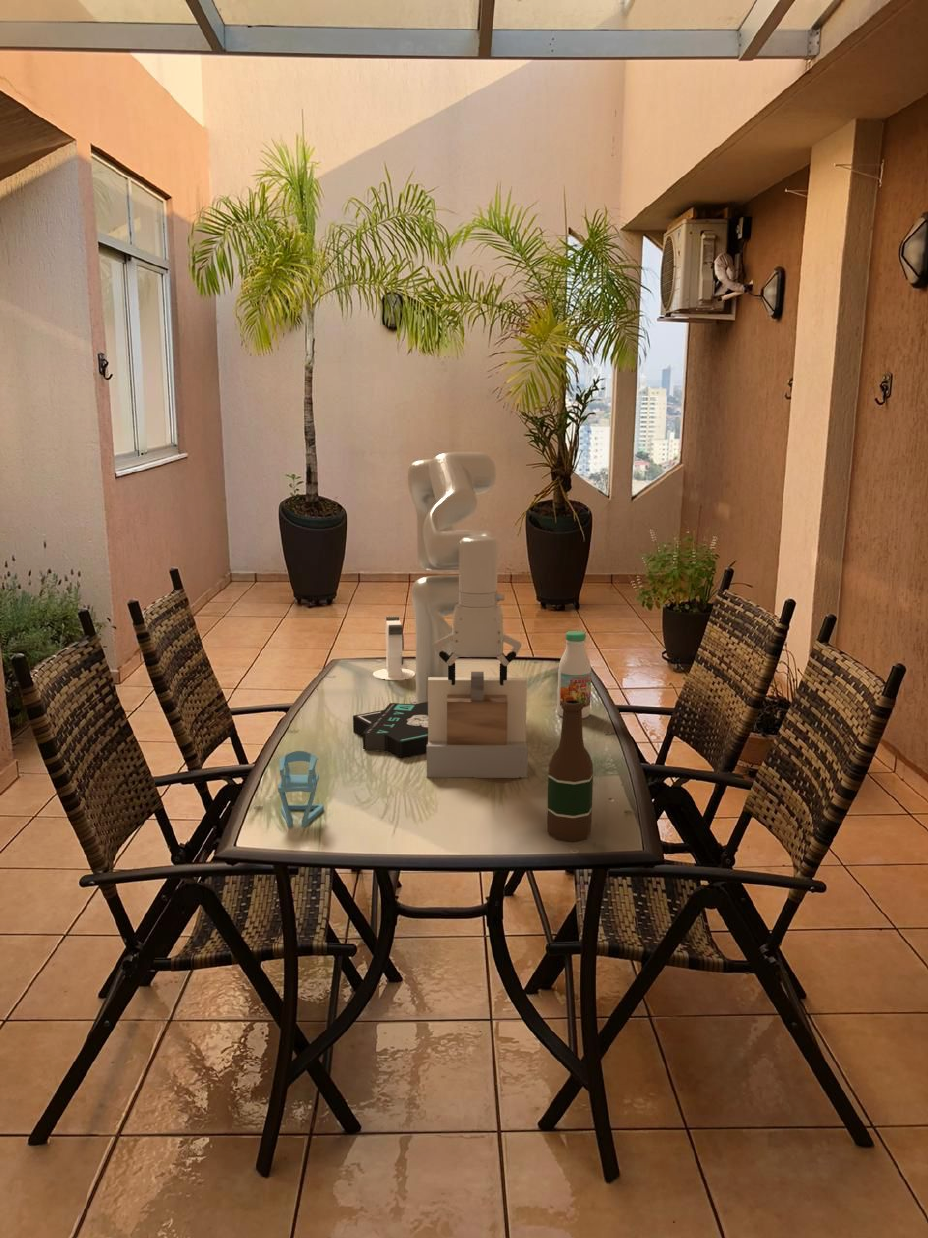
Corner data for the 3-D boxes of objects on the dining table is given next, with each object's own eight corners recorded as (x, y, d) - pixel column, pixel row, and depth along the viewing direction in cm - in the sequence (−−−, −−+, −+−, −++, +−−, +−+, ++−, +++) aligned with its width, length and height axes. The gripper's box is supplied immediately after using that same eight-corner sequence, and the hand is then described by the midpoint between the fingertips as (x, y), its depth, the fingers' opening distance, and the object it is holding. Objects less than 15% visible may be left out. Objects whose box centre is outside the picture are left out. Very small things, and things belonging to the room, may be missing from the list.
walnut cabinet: (447, 741, 218) (447, 670, 214) (506, 741, 217) (507, 671, 214) (446, 749, 213) (446, 677, 209) (506, 750, 213) (507, 677, 209)
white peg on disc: (417, 680, 280) (417, 625, 277) (374, 682, 279) (373, 626, 276) (413, 668, 292) (412, 615, 289) (371, 670, 290) (370, 616, 287)
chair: (274, 828, 188) (272, 763, 185) (281, 809, 196) (279, 747, 193) (318, 827, 188) (316, 763, 185) (323, 808, 196) (322, 747, 193)
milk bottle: (550, 714, 252) (552, 632, 248) (572, 707, 257) (574, 627, 253) (574, 722, 247) (576, 638, 242) (596, 715, 252) (599, 633, 247)
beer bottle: (543, 825, 189) (546, 695, 184) (587, 824, 190) (591, 694, 184) (550, 843, 181) (553, 708, 176) (595, 842, 182) (599, 708, 177)
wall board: (428, 760, 221) (428, 677, 217) (525, 761, 221) (526, 677, 217) (426, 777, 212) (426, 690, 208) (527, 778, 211) (528, 691, 208)
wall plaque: (332, 755, 225) (471, 765, 219) (331, 737, 224) (471, 747, 218) (372, 713, 254) (496, 721, 248) (372, 696, 253) (496, 704, 247)
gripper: (521, 596, 212) (519, 678, 216) (434, 595, 212) (434, 678, 216) (522, 603, 205) (521, 689, 208) (433, 603, 205) (433, 688, 209)
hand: (477, 683), depth 212 cm, fingers open, 9 cm apart
